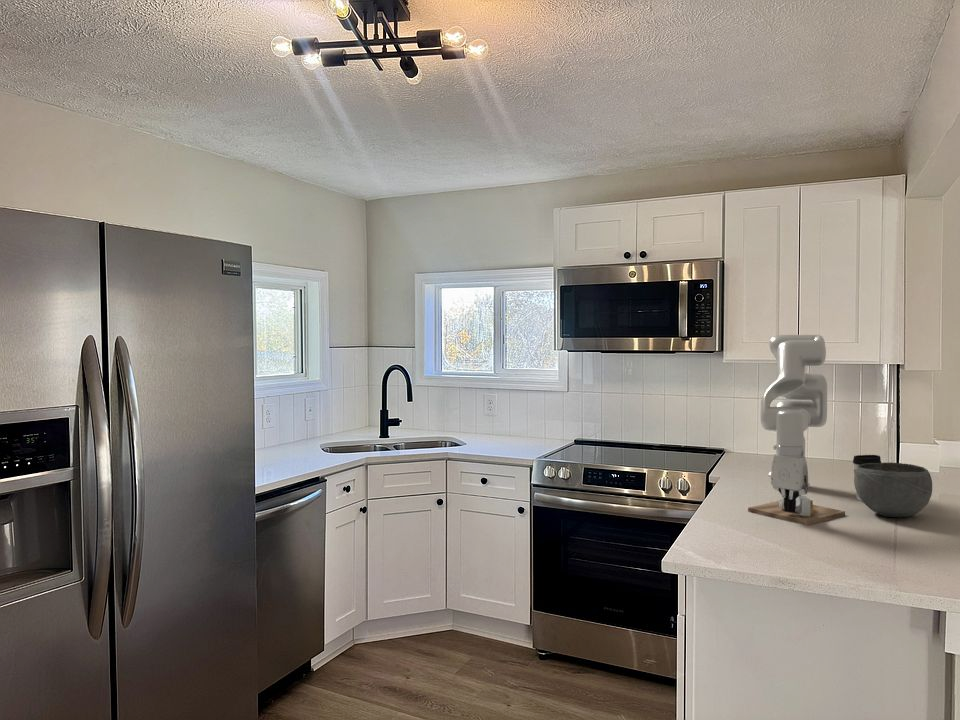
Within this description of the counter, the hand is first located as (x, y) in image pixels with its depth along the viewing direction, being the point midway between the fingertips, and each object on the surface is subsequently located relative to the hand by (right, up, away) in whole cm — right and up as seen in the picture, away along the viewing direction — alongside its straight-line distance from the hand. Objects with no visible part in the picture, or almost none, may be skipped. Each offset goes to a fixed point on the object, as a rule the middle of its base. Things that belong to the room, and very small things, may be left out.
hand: (789, 511), depth 215 cm
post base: (+5, -2, +6) cm, 8 cm away
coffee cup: (+36, -1, +22) cm, 42 cm away
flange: (+4, -1, +4) cm, 6 cm away
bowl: (+33, -2, +3) cm, 33 cm away
